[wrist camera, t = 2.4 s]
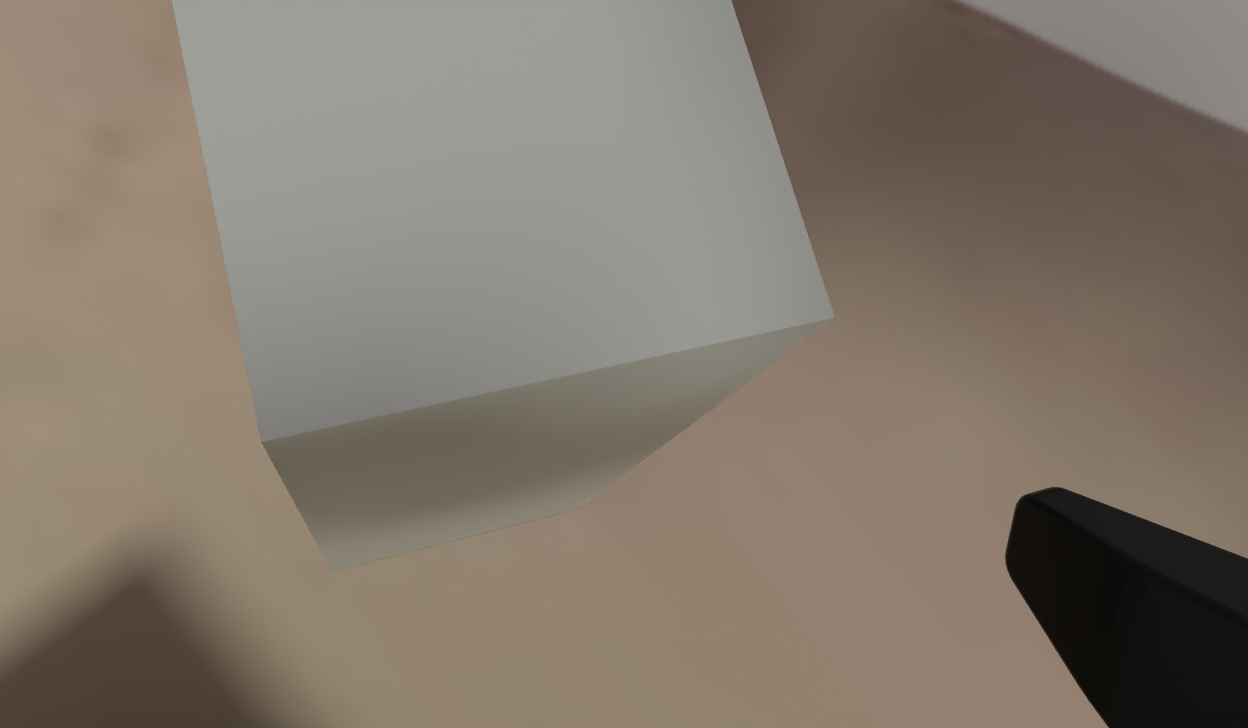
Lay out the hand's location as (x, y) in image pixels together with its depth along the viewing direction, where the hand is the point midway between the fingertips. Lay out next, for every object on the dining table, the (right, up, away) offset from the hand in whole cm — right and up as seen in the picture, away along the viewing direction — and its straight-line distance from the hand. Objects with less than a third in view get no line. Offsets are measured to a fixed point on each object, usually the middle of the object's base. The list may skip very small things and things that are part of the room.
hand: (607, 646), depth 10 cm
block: (-4, +1, +12) cm, 13 cm away
